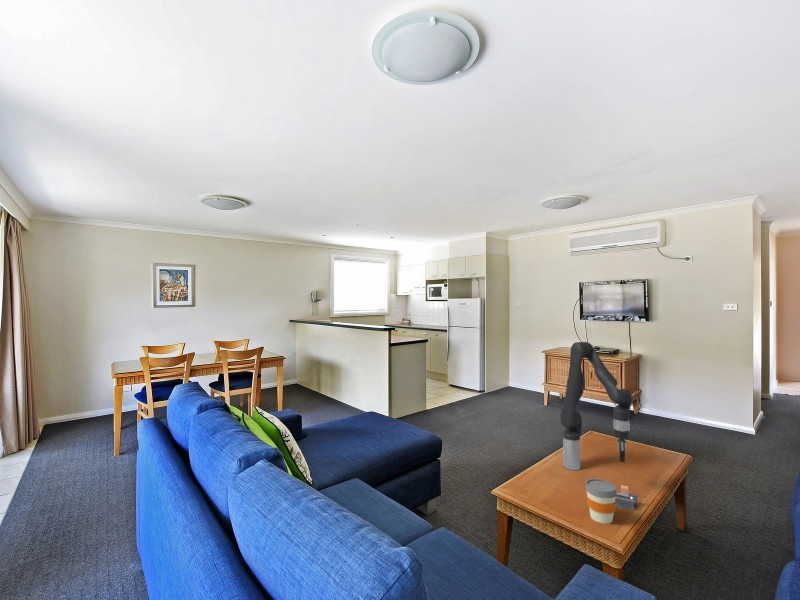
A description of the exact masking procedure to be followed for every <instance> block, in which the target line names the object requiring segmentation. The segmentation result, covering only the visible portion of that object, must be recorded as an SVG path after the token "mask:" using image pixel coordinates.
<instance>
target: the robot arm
mask: <svg viewBox="0 0 800 600" xmlns="http://www.w3.org/2000/svg"><path fill="white" fill-rule="evenodd" d="M569 356H570V357H569V368H568V369H569V370H568V374H567V375H568V377H567V381H566V387H565V394H564V400H563V401H564V402H563V405H562V407H561V412H560V415H559V420H560V423H561V425H562V427H564V428H565V430H564V431H563V432H562V446H563V447H562V448H563V449H562V459H563V460H562V463H563V464H562V465H563V466H562V467H563V468H565V469H567V470H571V471H579V470H581V468H582V467H581V464H582V463H581V435H582V432H583V431H582V430H583V429H582V427H583V426H582V425H583V422H582V421H583V420H582V416H581V413H580V412H579V411H577V410H576V408H577V405H578V403H579V401H580V400H581V398H582V396H583V394H584V390H585V385H586V379H585V376H584V372H583V370H582V363H583V359H586V360H588V361H589V362H590V364H591V365H592V368H593V370H594V374H595V376H596V379H597V380H598V381H599V382H600V383H601V385H602V386H603V387H604V390H605V391H606V393H607V396H608V398H609V399H610V401H611V402H613V403H614V404H617V406H615V407H614V408H613V417H612V418H613V422H612V426H613V427H612V431H613V432H612V435H613V437H614V438H616V442H617V450H618V455H619V462H621V463H625V459H626V458H625V456H626V450H627V440H630V438H631V424H630V410H631V406H632V402H633V396H632V393H631V392H630V390H628V388H627V389H626V388H620V389H619V388H617V386H618V384H619V383H618V380H617V379H616V378H615V376H614V375H613V374H612V373H611V372H610V370H609V369H608V368H607V367H606V366H605V364H604V362H603V361H602V359H601V357H600V355H599V354H598V353H597V350H596V349H595V347H594V346H593V344H591V342H588V341H578V342H577V341H575V342H574V343H573V344H572V345H571V347H570V355H569Z"/></svg>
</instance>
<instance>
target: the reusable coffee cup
mask: <svg viewBox="0 0 800 600" xmlns="http://www.w3.org/2000/svg"><path fill="white" fill-rule="evenodd" d="M585 491H586V494H585V495H586V501H587V502H586V503H587V507H588V508H589V509H588V510H589V514H590V518H591V519H592V520H593V521H595V522H597V523H600V524H604V525H605V524H606V525H608V524H612V523H613V519H614V514H615V512H616V508H617V507H616V499H615V498H616V495H617V493H618V492H617V487H616V485H615V484H614V483H612V482H610V481H608V480H605V479H600V478H589V479H587V480H586V481H585Z"/></svg>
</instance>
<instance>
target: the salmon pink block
mask: <svg viewBox="0 0 800 600" xmlns="http://www.w3.org/2000/svg"><path fill="white" fill-rule="evenodd" d="M620 493H622V494H626V495H629V494H630V493H629V486H627V485H623V484H622V485H621V484H620Z"/></svg>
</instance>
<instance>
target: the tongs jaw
mask: <svg viewBox="0 0 800 600" xmlns="http://www.w3.org/2000/svg"><path fill="white" fill-rule="evenodd" d="M615 499H616V507H615V508H621V509H625V510H629V511H630V510H631V511H635V507H634V500H632V499H627V498H621V497H616V498H615Z"/></svg>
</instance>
